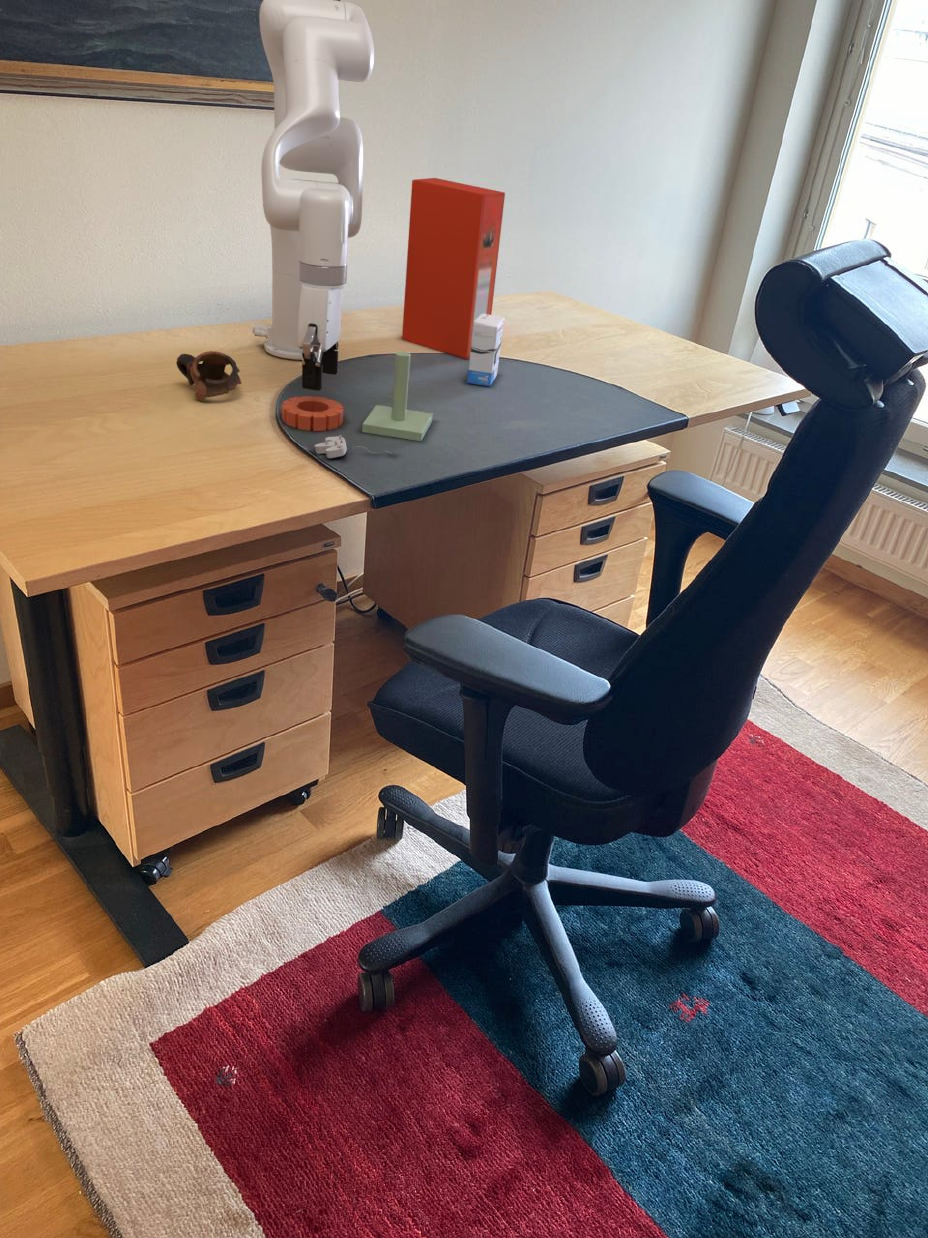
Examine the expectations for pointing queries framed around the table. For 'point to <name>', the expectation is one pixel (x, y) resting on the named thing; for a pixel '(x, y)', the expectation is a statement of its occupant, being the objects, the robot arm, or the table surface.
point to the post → (398, 409)
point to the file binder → (450, 262)
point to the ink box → (485, 349)
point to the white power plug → (333, 447)
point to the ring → (312, 413)
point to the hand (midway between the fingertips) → (320, 380)
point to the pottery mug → (209, 373)
